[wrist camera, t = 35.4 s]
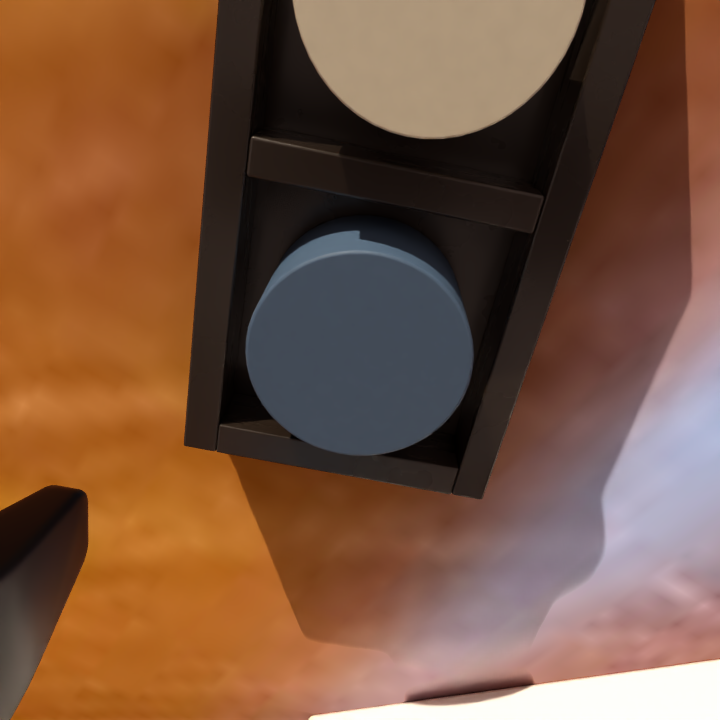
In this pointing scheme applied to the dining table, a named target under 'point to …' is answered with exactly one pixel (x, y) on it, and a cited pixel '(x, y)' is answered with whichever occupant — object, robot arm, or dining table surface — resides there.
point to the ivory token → (436, 58)
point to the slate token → (361, 338)
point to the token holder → (397, 202)
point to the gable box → (574, 699)
